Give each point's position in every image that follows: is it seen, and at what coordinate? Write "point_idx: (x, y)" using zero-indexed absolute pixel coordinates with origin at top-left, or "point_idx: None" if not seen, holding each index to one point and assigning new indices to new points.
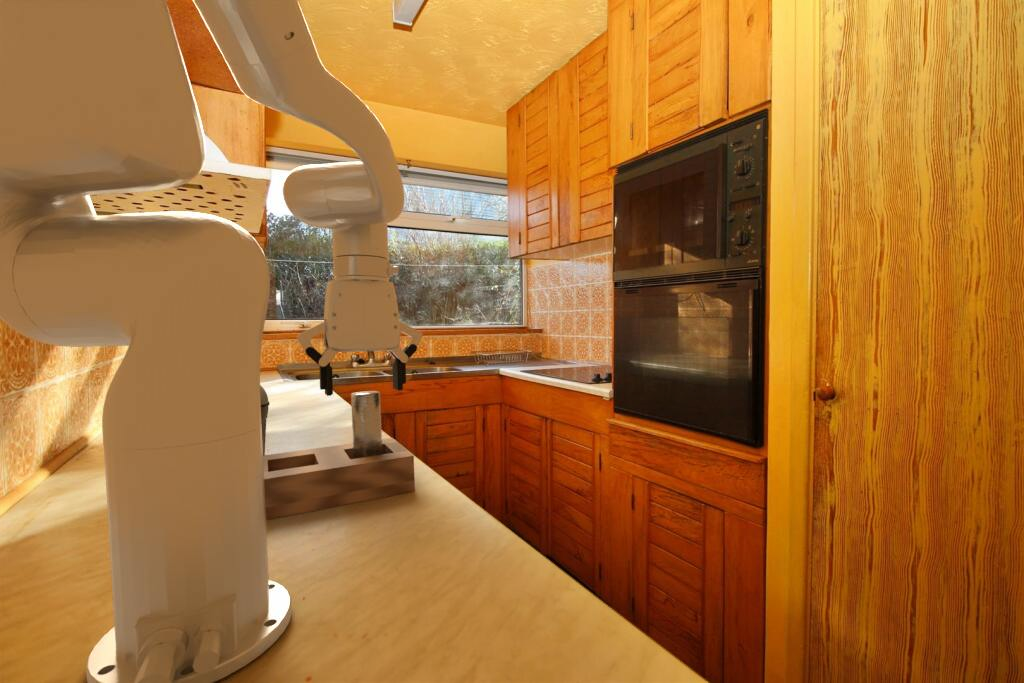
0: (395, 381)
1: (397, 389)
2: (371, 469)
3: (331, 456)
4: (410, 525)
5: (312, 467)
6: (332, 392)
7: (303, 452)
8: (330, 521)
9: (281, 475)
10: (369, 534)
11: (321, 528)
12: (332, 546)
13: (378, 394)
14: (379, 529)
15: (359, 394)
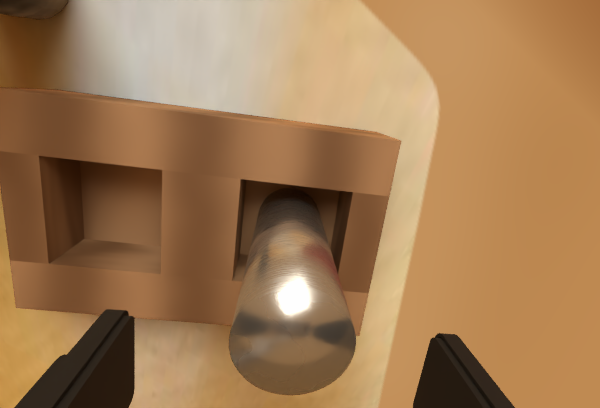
0: (436, 405)
1: (413, 405)
2: None
3: (198, 228)
4: (281, 398)
5: (144, 289)
6: (128, 403)
7: (135, 135)
8: (187, 329)
9: (79, 305)
10: (225, 393)
11: (171, 344)
12: (176, 399)
13: (334, 375)
14: (241, 388)
15: (259, 362)
